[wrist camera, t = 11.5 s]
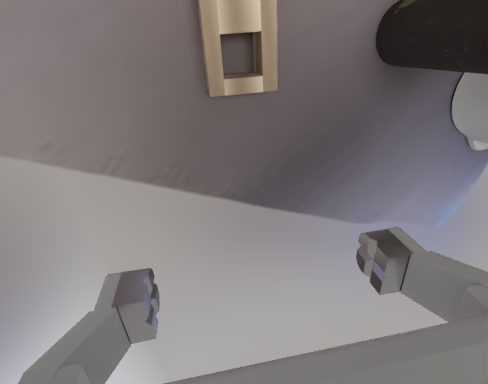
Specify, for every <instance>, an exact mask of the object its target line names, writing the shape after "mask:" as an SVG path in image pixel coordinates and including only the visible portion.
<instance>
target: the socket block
mask: <svg viewBox="0 0 488 384" xmlns="http://www.w3.org/2000/svg"><path fill="white" fill-rule="evenodd" d="M197 4H198V12H199V21H200V29H201V38H202V46H203V55H204V63H205V72H206V81H207V89H208V93H209V95H210V97H216V96H226V95H237V94H247V93H258V92H268V91H278V76H277V0H197ZM239 33H252V37H253V60H254V72H249V73H237V74H226V75H223V64H222V53H221V42H220V35H224V34H239Z"/></svg>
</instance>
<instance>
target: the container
mask: <svg viewBox="0 0 488 384" xmlns="http://www.w3.org/2000/svg"><path fill="white" fill-rule="evenodd" d="M377 49H378V52H379V54H380V56H381V58H382V59H383V60H384V61H385V62H386V63H388V64H390V65H394V66H401V67H412V68H424V69H436V70H446V71H457V72H467V73H478V74H488V0H400V1H398V2H397V3H396V4H395V5H393V6H392V7H391V8H390V9H389V10H388V12H387V13H386V14H385V16H384V17H383V19H382V21H381V23H380V26H379V29H378V33H377Z"/></svg>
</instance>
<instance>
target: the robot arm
mask: <svg viewBox="0 0 488 384" xmlns="http://www.w3.org/2000/svg"><path fill="white" fill-rule="evenodd" d="M452 118H453V122H454V124H455V126H456V128H457V129H458V130H459V131H460V132H461V133H462V134H464V135H465V136H466V137H467V139H468V143H469V146H470V148H471V149H473V150H477V151H481V150H484V149H487V148H488V74H478V73H467V72H465V73H464V75H463V76H462V78H461V80H460V82H459V84H458V86H457V88H456V91H455V94H454V98H453V102H452ZM358 242H359V243H360V244H361V246H360V248H359V249H358V250H357V255H356V258H357V263H358V266H359V268H360V269H361V271H362V272H363V274H365V275H367V276H369V277H370V283H371V284H372V286H373V287H374V288H375V290H376V291H377V292H378V293H379V294H380V295H382V294H388V293H394V292H400V291H401V293H402V294H404V295H406V296H407V297H409V298H410V299H412V300H413V301H415V302H417V303H418V304H420V305H422V306H423V307H425V308H427V309H428V310H430V311H431V312H433V313H434V314H436V315H438V316H440V317H441V318H443V319H444V320H446V321H447V322H449V323H445V324H440V325H436V326H431V327H426V328H422V329H417V330H412V331H408V332H403V333H398V334H394V335H389V336H384V337H380V338H375V339H370V340H366V341H361V342H356V343H352V344H347V345H342V346H338V347H333V348H328V349H324V350H319V351H314V352H310V353H305V354H300V355H296V356H291V357H287V358H282V359H277V360H272V361H268V362H263V363H258V364H254V365H249V366H245V367H240V368H235V369H231V370H226V371H221V372H216V373H212V374H207V375H202V376H198V377H193V378H188V379H183V380H179V381H175V382H169V383H165V384H488V272H486V271H484V270H481V269H478V268H475V267H473V266H470V265H468V264H465V263H462V262H459V261H457V260H454V259H451V258H449V257H446V256H443V255H440V254H438V253H435V252H433V251H426V250H425V249H424V248H423V247H422V246H420V245H419V244H418V243H417V242H416V241H415V240H413V239H412V238H411V237H410V236H409V235H408V234H407V233H405V232H404V231H403V230H402V229H401V228H398V227H393V228H388V229H384V230H378V231H372V232H367V233H361V235H360V236H359V241H358ZM159 304H160V302H159V291H158V287H157V285H156V284H154V273H153V270H152V269H151V268H148V269H141V270H135V271H127V272H122V273H115V274H108V276H107V277H106V278H105V281H104V283H103V286H102V289H101V292H100V295H99V298H98V300H97V303H96V306H95V309H94V311H92V312H89V313H88V314H87V315H86V316H84V317H83V318H82V319H81V320H80V321H79V322H78V323H77V324H76V325H75V326H74V327H73V328H72V329H70V330H69V331H68V332H67V333H66V334H65V335H64V336H63V337H62V338H61V339H60V340H59V341H58V342H56V343H55V344H54V345H53V346H52V347H51V348H50V349H49V350H48V351H47V352H46V353H45V354H44V355H42V357H40V358H39V359H38V360H37V361H36V362H35V363H34V364H33V365H32V366H31V367H30V368H29V369H28V370H26V372H24V373H23V375H22V377H21V379H20V381H19V383H18V384H105V382H106V381H107V380H108V378H109V377H110V375H111V374H112V372H113V371H114V369H115V368H116V366H117V365H118V363H119V362H120V361H121V359H122V358H123V356H124V355H125V353H126V352H127V350H128V349H129V347H130V346H131V345H130V344H133V343H138V342H142V341H147V340H151V339H155V338H156V334H157V325H158V321H157V317H156V314H157V313H158V312H159Z"/></svg>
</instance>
